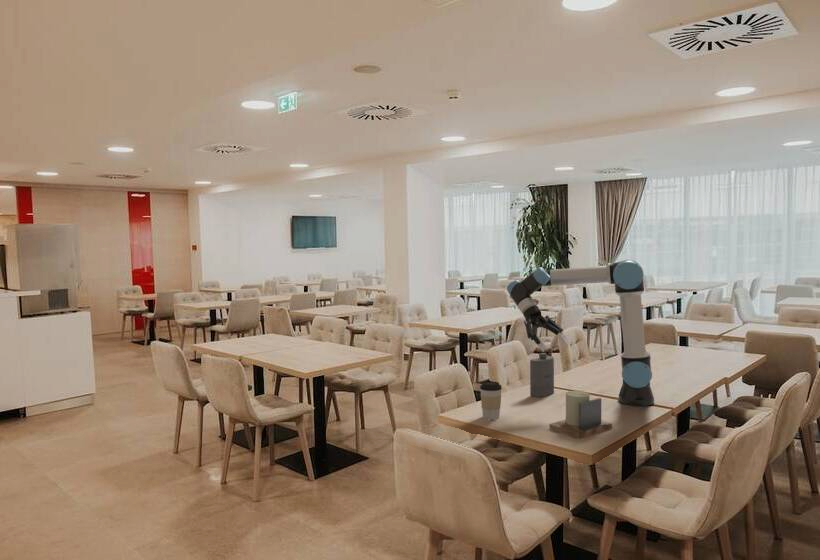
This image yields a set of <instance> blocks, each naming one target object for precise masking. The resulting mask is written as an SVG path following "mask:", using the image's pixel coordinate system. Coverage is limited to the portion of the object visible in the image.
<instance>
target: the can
mask: <svg viewBox="0 0 820 560" xmlns="http://www.w3.org/2000/svg"><path fill="white" fill-rule="evenodd" d="M590 394H591V393H590V392H586V391H584V390H583V391H582V390H570V391H566V392H565V419H564V420H565V422H566V423H567V424H569V425H573V426H579V403H582V402H586V401H590Z"/></svg>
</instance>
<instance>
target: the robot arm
mask: <svg viewBox="0 0 820 560" xmlns="http://www.w3.org/2000/svg"><path fill="white" fill-rule="evenodd" d="M601 283H608V284H609V285H614V290H615V292H614V293H615V294H616V295H617V296H618V297H619V306H620V308H619V309H620V317H621V328H622V329H621V330H622V338H623V339H622V342H623V352H622V353H621V355H620V360H621V361H620V362H621V369H622V371H621V377H622V384H621V387H620V390H619V392H618V393H619V394H618V402H620V404H621V403H622V404H625V405H629V406H635V407H637V406H638V407H643V406H651V405H654V404H655V397H654V394H653V391H652V387H651V381H652V379H653V373H652V372H653V371H652V365H651V353H650V352H648V351H647V350H646V340H645V329H644V328H645V327H644V317H643V316H644V315H643V304H642V303H643V302H642V294H643V293H644V292H645V282H644V270H643V267H642V266H641V265H640V264H639V263H638V262H637V261H636V260H632V259H625V260H620V261H617V262H616V261H615V262H609V263H608V264H606V265H598V266H595V265H594V266H585V267H583V266H582V267H569V268H556V269H544V268H543V267H541V266H540V267H537V269H534V270H533V271H532V272H531V273H530V274H528V276H526V277H525V278H523V280H521V281H520V280H518V279H516V280H514V281H511V282H509V284H508V285H507V287H506V292H507V293H508V294H509V296H510V298H511V299H512V300H513V302H514V304H515V305H516V307H517V308H518V309H519V311H520V313H521V314H522V315H523V317H524V318H525V319H524V320H523V324H524V325H525V330H526V335H527V338H528V339H529V340H531V341H534V343H535V344H536V345H537V346H538V348H539V349H540V350H541V353H545V351H546V350H547V345H546V344H545V342H543V340H542V338H541V337H540V336H539V335H538V329H539V328H543V329H545V330H548V331H550V332H551V333H552V334H554V335H556V336H555V337H556V339H557V340H558V341H559V343H560V344H561V346H562V348H563V349H566V347H568V346H569V342H568V341H567V340H566V337H565V336H564V335H563V332H564V329H563V328H562V327H561V326H560V325H558V324H557V323H556V322H554V321H553V320H552V319H551V318H550V316H549V315H546V316H543V314H542V311H541V308H539V306H538V305H537V303H536V302H535V300H534V299H533V298H532V296H531V295H533V294H534V293H535V292H537V291H538V290H539V289H540V288H542V287H552V286H569V285H581V284H582V285H584V284H601ZM653 403H654V404H653Z"/></svg>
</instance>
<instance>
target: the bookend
mask: <svg viewBox="0 0 820 560" xmlns="http://www.w3.org/2000/svg"><path fill="white" fill-rule="evenodd" d="M601 420H602V398H601V397H598V398H595V399H594V398H593V399H591V400H590V399H589V401H586V402H582V403H579V429H580V430H583V431H588V430H591V429H594V428H598V427H601V426H604V425H606V424H604V423H601Z"/></svg>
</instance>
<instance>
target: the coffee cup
mask: <svg viewBox="0 0 820 560" xmlns="http://www.w3.org/2000/svg"><path fill="white" fill-rule="evenodd" d="M479 389H480V404H481V409H482V418H483V419H484V420H487V419H496V420H499V419H500V415H501V414H500V412H501V406H502V405H501V404H502V403H501V402H502V389H503V387H502V384H500V383H499V382H498V381H493V380H485V381H484V382H482V384H481V385H480V386H479ZM498 418H499V419H498Z"/></svg>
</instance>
